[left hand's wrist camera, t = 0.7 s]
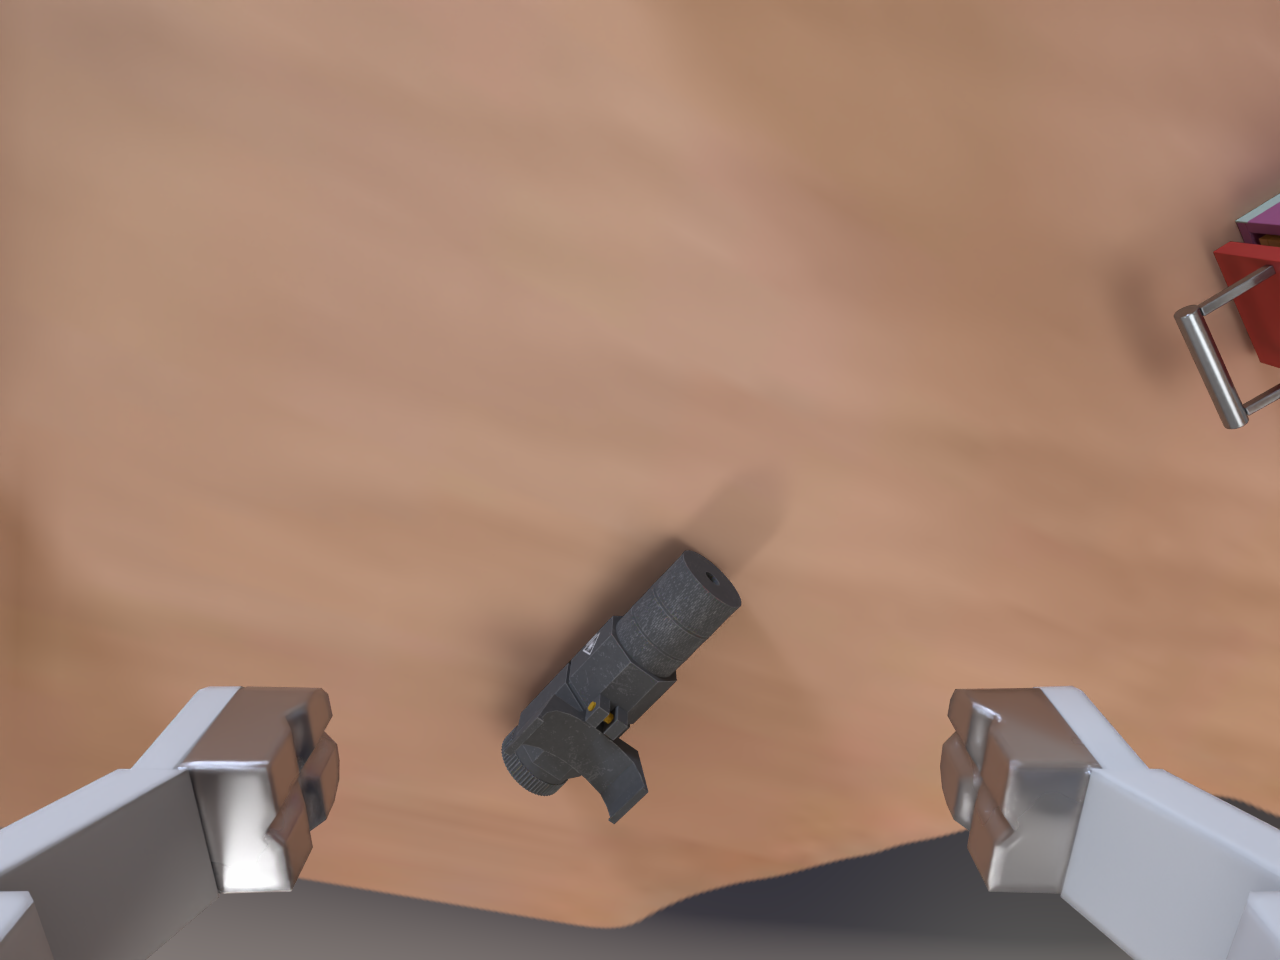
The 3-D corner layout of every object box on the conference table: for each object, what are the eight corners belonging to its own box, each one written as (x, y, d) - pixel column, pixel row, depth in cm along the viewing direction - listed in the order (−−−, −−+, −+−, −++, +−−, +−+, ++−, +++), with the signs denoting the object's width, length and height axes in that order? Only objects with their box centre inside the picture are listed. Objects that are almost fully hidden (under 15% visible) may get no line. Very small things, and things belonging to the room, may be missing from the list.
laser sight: (756, 595, 63) (776, 670, 53) (575, 776, 69) (564, 871, 59) (659, 521, 60) (663, 585, 51) (481, 714, 66) (455, 803, 57)
